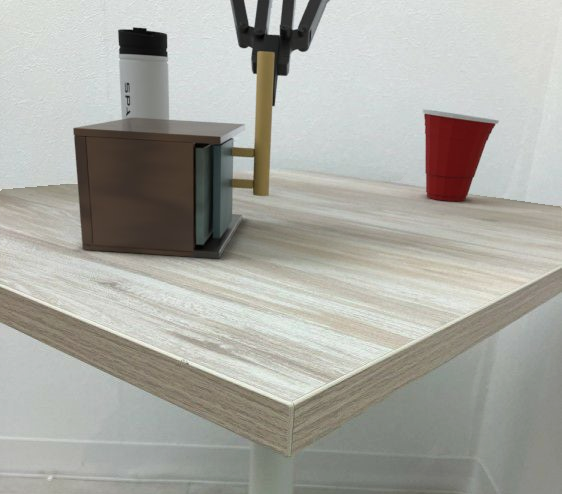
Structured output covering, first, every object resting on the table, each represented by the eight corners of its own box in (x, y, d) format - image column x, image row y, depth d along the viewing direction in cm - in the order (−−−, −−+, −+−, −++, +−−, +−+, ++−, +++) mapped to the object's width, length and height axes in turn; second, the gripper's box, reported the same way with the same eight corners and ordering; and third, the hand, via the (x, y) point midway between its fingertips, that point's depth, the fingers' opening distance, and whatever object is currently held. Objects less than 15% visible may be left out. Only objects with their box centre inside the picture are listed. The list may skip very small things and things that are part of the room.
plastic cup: (493, 206, 91) (510, 115, 86) (417, 202, 91) (430, 110, 86) (474, 194, 101) (488, 112, 96) (405, 190, 101) (416, 108, 96)
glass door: (268, 223, 67) (275, 52, 61) (260, 241, 60) (268, 48, 53) (225, 220, 68) (228, 50, 61) (212, 238, 60) (214, 45, 53)
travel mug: (166, 184, 94) (162, 29, 86) (174, 191, 89) (171, 27, 80) (122, 184, 92) (114, 26, 84) (127, 191, 87) (119, 23, 78)
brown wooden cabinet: (242, 219, 73) (245, 124, 69) (219, 258, 57) (220, 136, 53) (136, 212, 74) (132, 117, 70) (82, 249, 57) (72, 127, 53)
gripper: (340, -36, 75) (330, 126, 67) (229, -41, 75) (205, 119, 67) (346, -103, 68) (336, 69, 60) (223, -109, 68) (196, 61, 60)
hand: (267, 95), depth 63 cm, fingers closed
